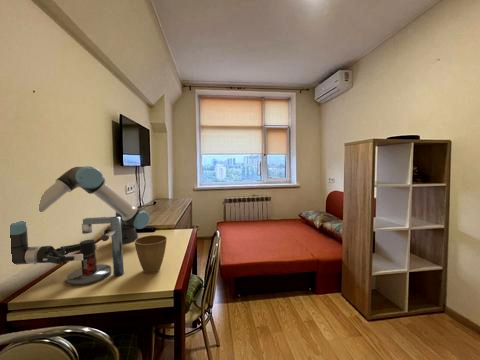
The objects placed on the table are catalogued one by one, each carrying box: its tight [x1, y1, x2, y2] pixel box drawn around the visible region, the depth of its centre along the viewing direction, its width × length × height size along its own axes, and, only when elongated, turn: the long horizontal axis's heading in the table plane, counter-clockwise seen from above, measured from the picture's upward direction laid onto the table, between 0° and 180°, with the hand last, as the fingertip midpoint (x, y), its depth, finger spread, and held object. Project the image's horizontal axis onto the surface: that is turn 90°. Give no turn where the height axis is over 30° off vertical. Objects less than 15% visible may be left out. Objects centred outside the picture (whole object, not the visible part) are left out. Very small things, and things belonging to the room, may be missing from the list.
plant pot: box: [134, 234, 168, 275], centre depth 118 cm, size 15×15×16 cm
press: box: [66, 215, 125, 287], centre depth 111 cm, size 28×19×28 cm
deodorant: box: [79, 239, 98, 275], centre depth 113 cm, size 6×6×15 cm
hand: (90, 251), depth 113 cm, fingers open, 13 cm apart
